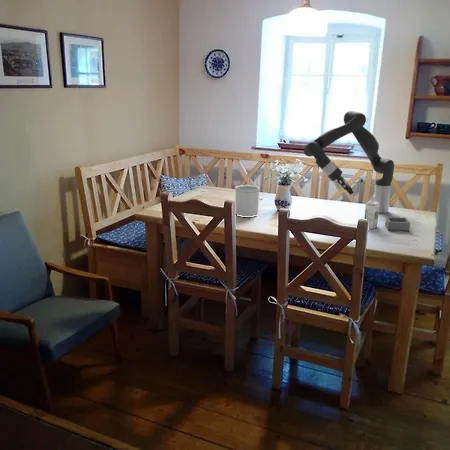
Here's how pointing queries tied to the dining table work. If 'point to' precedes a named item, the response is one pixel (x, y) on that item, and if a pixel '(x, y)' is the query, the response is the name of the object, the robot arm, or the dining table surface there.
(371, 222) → the syrup box
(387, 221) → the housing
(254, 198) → the utensil holder
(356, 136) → the robot arm
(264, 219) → the dining table surface
